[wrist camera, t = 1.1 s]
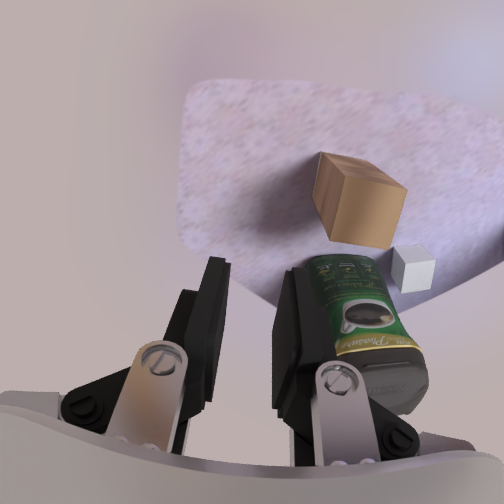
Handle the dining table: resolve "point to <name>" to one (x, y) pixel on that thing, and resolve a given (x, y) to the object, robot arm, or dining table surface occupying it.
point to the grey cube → (412, 268)
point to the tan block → (357, 201)
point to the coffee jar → (369, 330)
